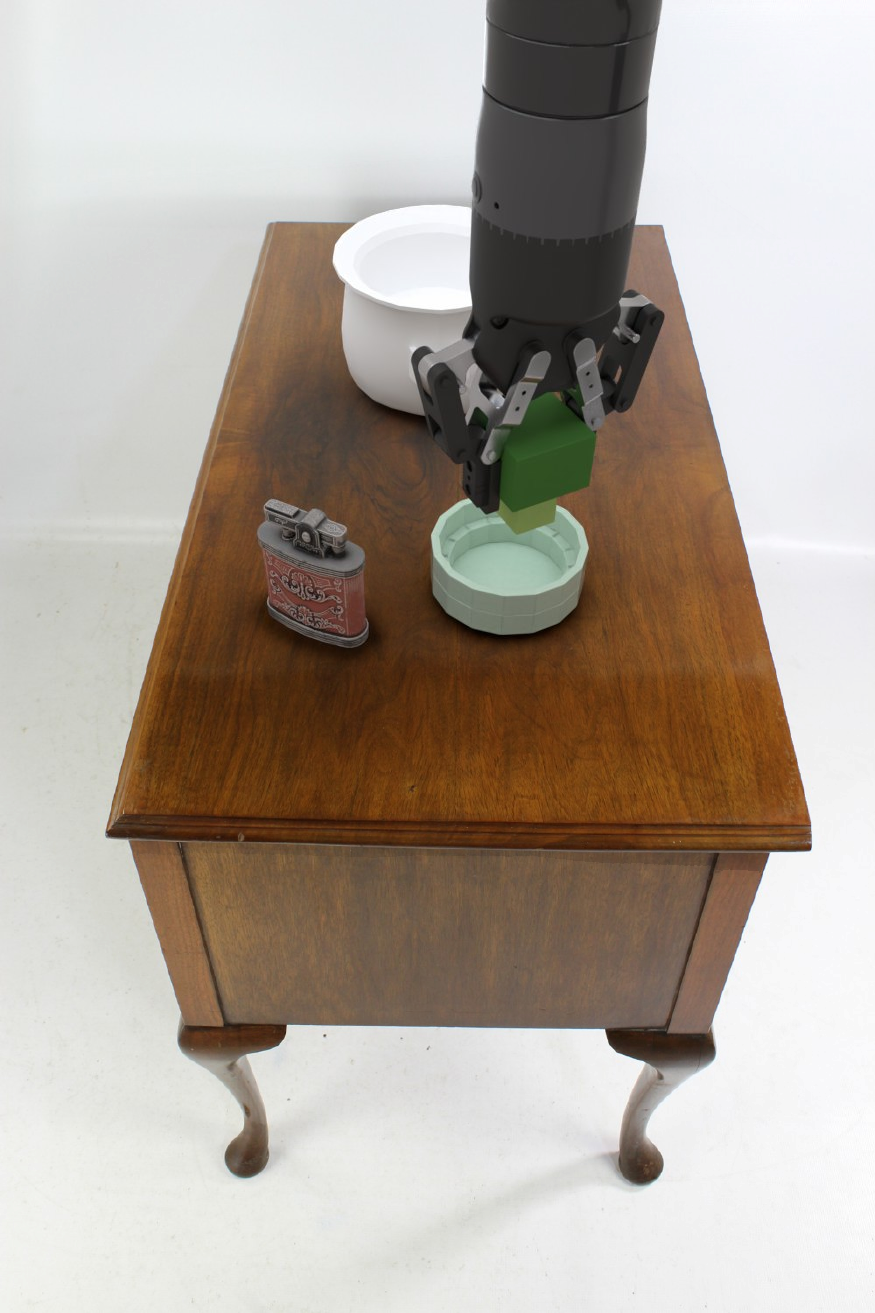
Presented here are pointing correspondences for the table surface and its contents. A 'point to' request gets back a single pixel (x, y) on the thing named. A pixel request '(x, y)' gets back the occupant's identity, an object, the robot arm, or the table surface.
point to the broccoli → (543, 463)
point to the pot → (403, 296)
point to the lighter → (313, 575)
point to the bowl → (506, 570)
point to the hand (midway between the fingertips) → (526, 489)
